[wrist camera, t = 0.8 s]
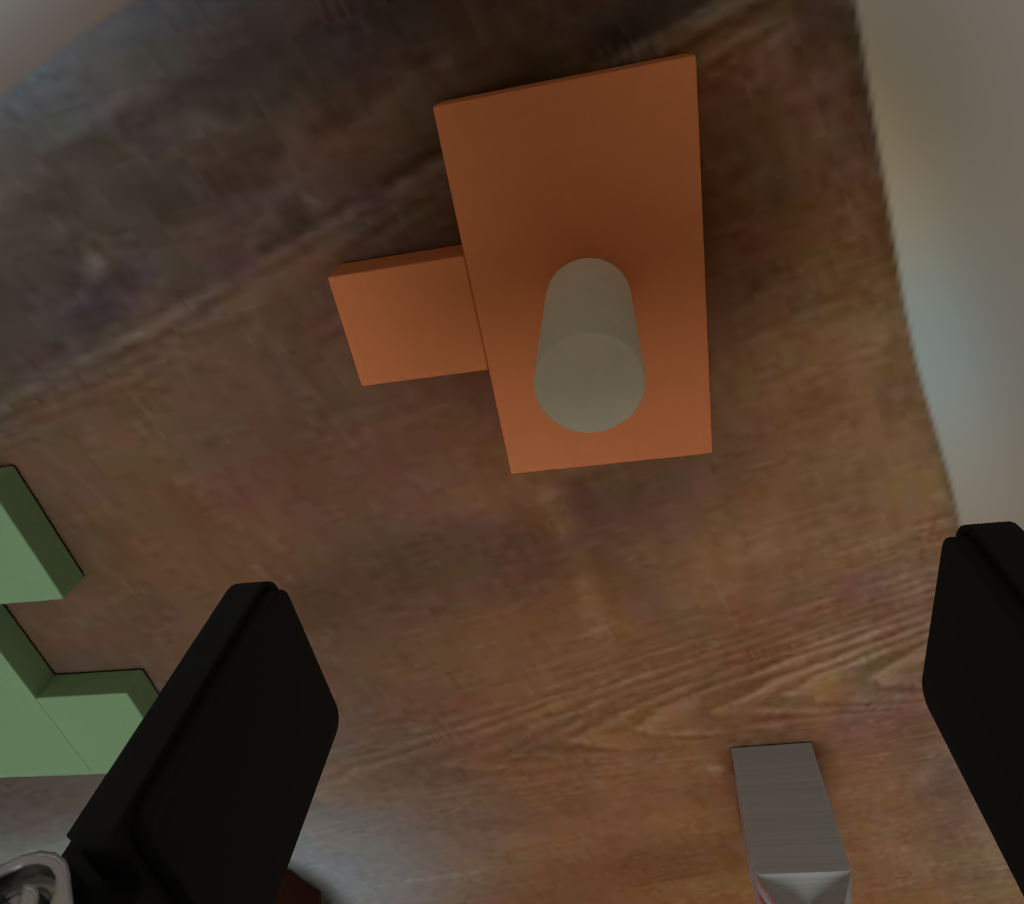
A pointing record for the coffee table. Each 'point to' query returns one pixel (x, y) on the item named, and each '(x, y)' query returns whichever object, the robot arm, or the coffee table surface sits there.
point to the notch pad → (27, 678)
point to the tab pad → (532, 223)
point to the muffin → (296, 891)
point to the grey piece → (789, 827)
